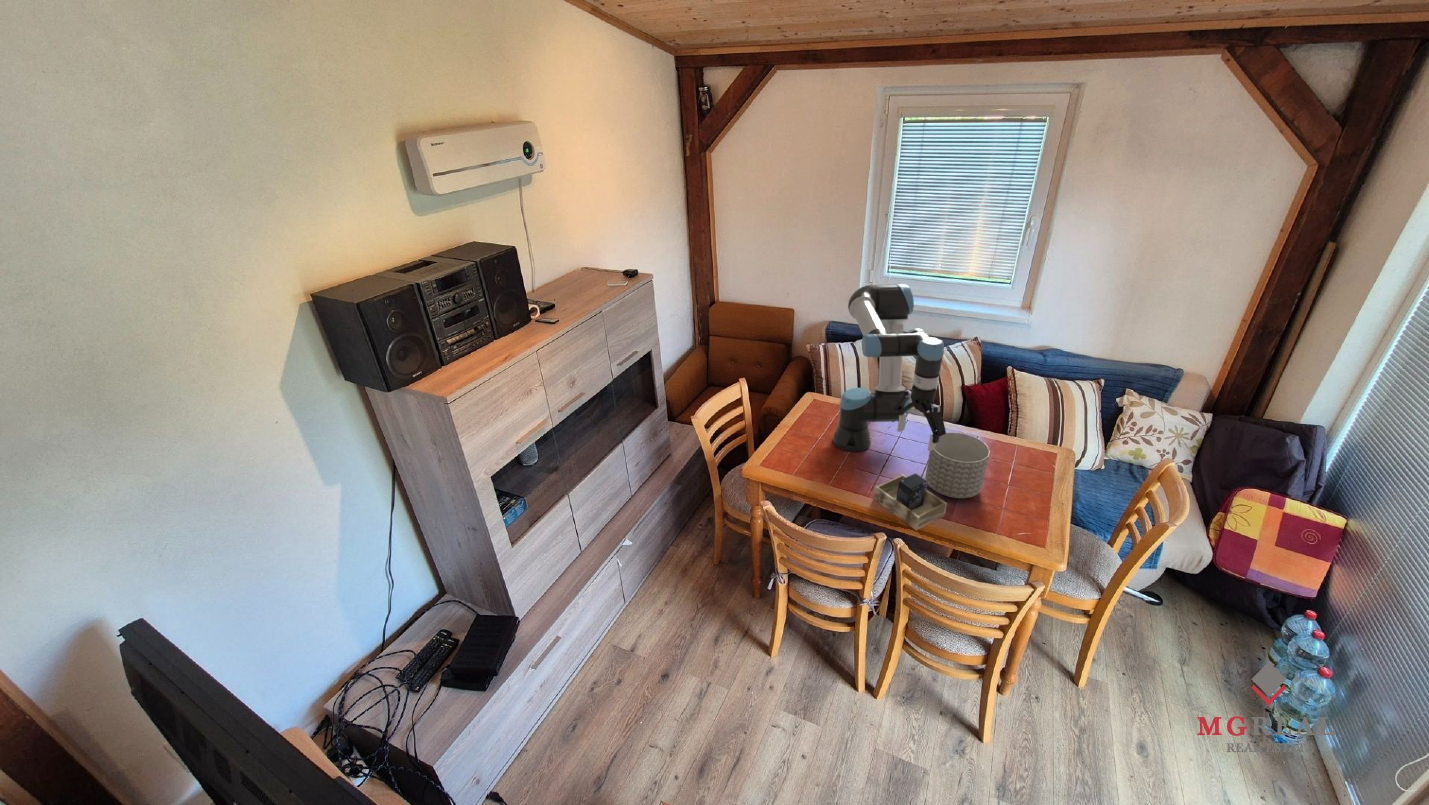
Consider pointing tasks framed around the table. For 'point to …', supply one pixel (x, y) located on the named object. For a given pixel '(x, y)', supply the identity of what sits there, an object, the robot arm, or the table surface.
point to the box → (911, 491)
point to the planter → (957, 465)
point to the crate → (914, 518)
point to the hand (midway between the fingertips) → (915, 439)
